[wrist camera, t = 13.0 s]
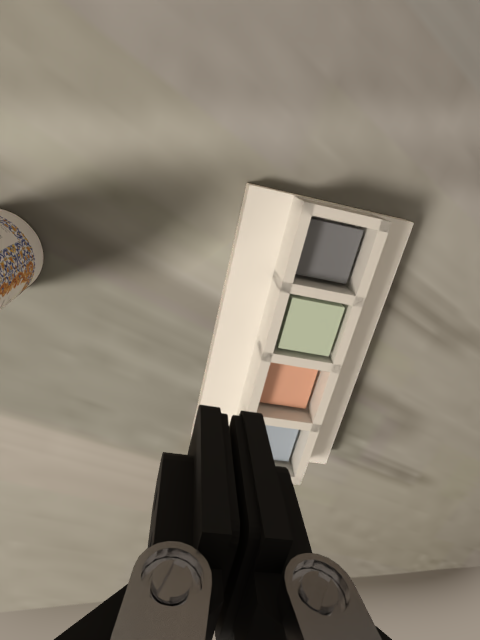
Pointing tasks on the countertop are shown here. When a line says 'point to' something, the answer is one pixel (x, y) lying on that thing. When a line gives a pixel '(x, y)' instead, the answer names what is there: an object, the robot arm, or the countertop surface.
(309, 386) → the key
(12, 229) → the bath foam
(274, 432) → the key
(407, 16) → the countertop surface
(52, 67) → the countertop surface
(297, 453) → the white compartment tray
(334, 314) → the key
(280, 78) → the countertop surface
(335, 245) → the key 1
